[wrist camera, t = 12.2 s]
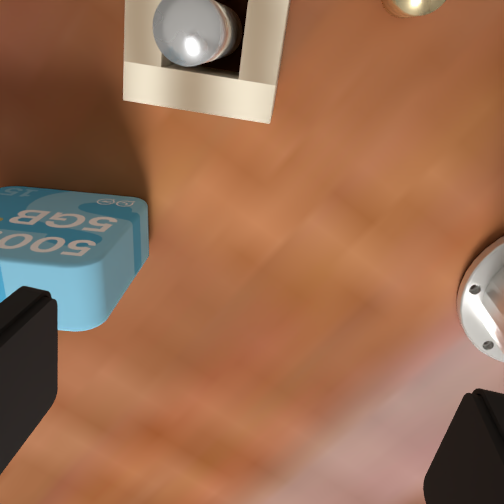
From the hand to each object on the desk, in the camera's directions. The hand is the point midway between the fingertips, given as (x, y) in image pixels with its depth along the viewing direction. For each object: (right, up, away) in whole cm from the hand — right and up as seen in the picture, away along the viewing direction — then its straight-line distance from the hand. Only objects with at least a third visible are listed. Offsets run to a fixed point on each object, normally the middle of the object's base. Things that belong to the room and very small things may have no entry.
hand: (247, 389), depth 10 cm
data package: (-14, +6, +27) cm, 31 cm away
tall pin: (-2, +18, +20) cm, 27 cm away
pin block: (-2, +18, +20) cm, 27 cm away
